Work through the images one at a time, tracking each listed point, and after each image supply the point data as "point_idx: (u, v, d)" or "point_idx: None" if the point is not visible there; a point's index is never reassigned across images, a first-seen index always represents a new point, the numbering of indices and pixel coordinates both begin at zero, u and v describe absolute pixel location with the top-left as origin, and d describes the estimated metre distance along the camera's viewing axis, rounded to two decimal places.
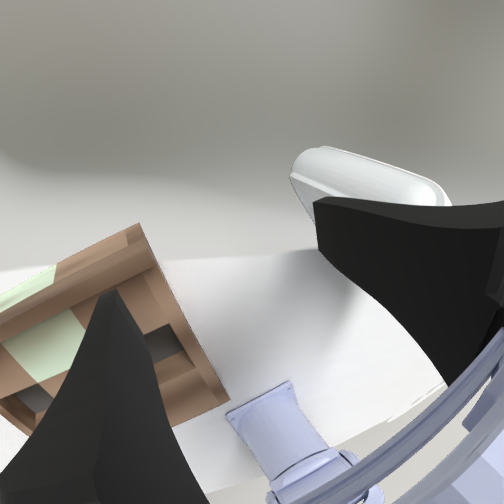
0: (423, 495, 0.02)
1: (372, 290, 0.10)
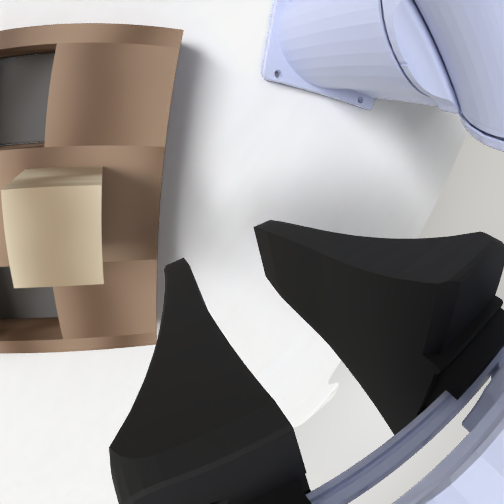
0: (423, 495, 0.02)
1: (315, 325, 0.09)
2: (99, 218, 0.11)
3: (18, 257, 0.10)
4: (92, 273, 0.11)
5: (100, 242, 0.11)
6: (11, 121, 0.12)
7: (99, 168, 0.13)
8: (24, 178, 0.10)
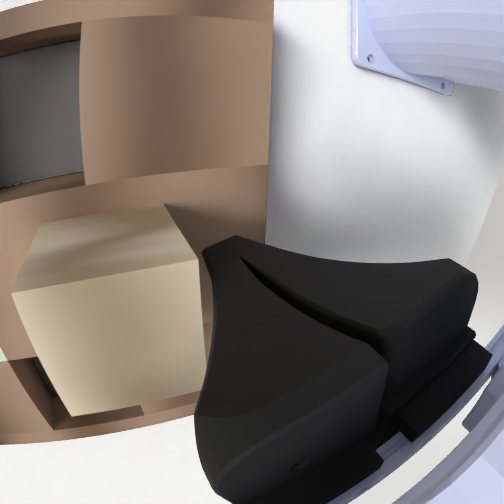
0: (423, 495, 0.02)
1: None
2: (198, 309, 0.07)
3: (69, 382, 0.06)
4: (191, 379, 0.08)
5: (202, 341, 0.07)
6: (21, 149, 0.08)
7: (161, 209, 0.09)
8: (45, 250, 0.06)
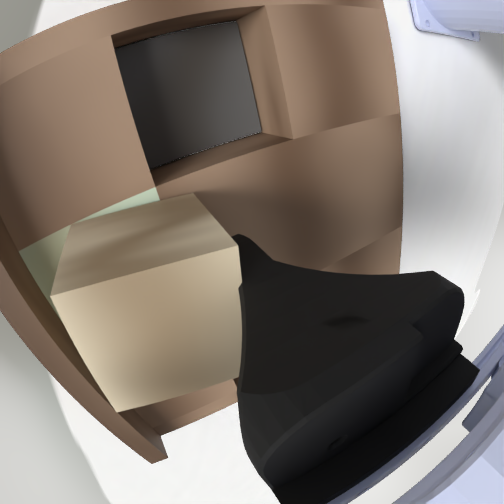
0: (423, 495, 0.02)
1: None
2: None
3: (114, 379, 0.07)
4: (235, 365, 0.08)
5: None
6: (198, 119, 0.11)
7: (192, 199, 0.09)
8: (79, 250, 0.07)
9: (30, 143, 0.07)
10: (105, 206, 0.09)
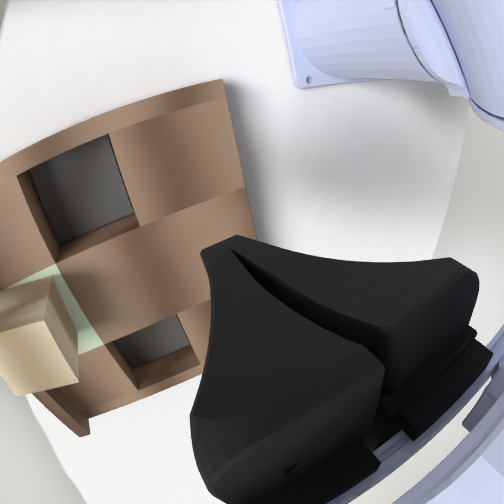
0: (423, 495, 0.02)
1: None
2: (54, 342, 0.11)
3: (10, 377, 0.11)
4: (67, 377, 0.12)
5: (63, 357, 0.12)
6: (87, 210, 0.16)
7: (48, 281, 0.14)
8: None
9: None
10: (30, 274, 0.13)
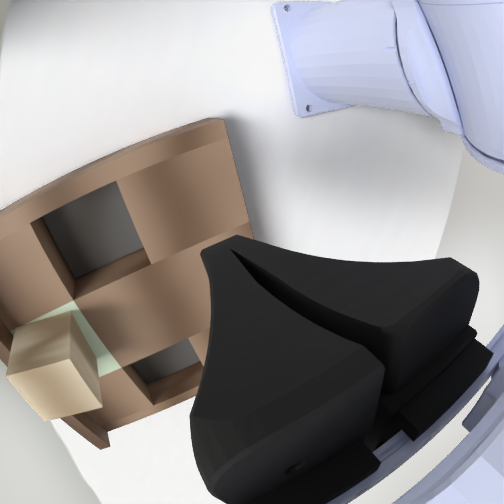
0: (423, 495, 0.02)
1: None
2: (79, 376, 0.13)
3: (38, 406, 0.12)
4: (91, 403, 0.14)
5: (87, 387, 0.13)
6: (99, 247, 0.17)
7: (68, 317, 0.15)
8: (17, 350, 0.13)
9: (5, 281, 0.13)
10: (50, 311, 0.15)
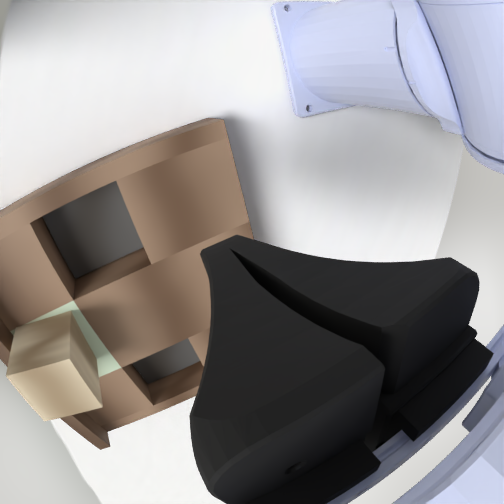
0: (423, 495, 0.02)
1: None
2: (79, 376, 0.13)
3: (38, 406, 0.12)
4: (91, 403, 0.14)
5: (87, 387, 0.13)
6: (99, 247, 0.17)
7: (68, 317, 0.15)
8: (17, 350, 0.13)
9: (5, 281, 0.13)
10: (50, 311, 0.15)
